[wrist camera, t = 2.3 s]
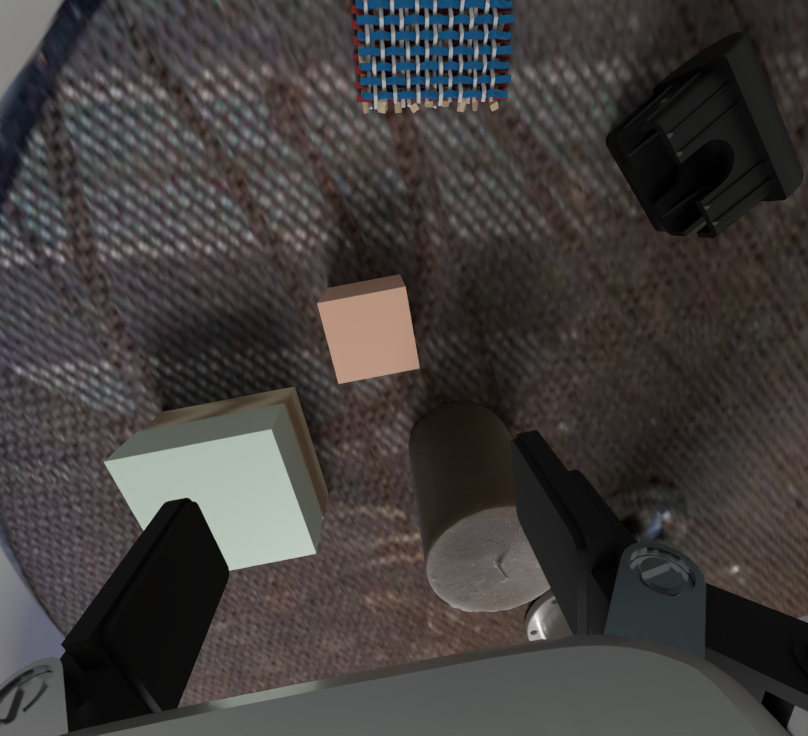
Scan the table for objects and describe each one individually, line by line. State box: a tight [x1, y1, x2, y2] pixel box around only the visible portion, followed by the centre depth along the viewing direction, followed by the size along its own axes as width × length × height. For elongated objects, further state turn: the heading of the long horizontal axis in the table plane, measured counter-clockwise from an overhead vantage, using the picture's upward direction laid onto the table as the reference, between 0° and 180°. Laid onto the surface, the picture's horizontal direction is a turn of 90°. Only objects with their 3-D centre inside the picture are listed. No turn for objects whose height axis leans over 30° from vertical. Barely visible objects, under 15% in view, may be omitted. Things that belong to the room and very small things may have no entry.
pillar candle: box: [409, 402, 550, 612], centre depth 31 cm, size 10×10×15 cm
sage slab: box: [104, 403, 322, 571], centre depth 31 cm, size 12×12×4 cm
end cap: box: [606, 32, 804, 238], centre depth 26 cm, size 10×7×7 cm
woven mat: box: [351, 0, 515, 113], centre depth 25 cm, size 10×11×2 cm
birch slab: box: [142, 386, 328, 519], centre depth 35 cm, size 12×12×4 cm
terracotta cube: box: [317, 274, 420, 384], centre depth 29 cm, size 6×6×6 cm
